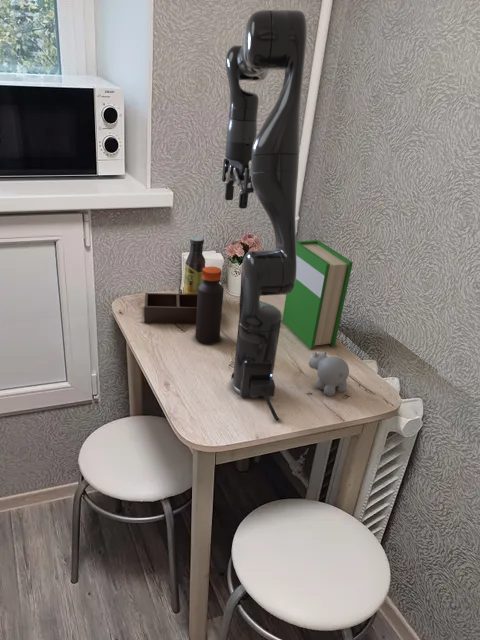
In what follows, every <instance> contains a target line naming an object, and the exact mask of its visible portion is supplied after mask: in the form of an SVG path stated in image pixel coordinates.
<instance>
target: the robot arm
mask: <svg viewBox="0 0 480 640" xmlns="http://www.w3.org/2000/svg"><path fill="white" fill-rule="evenodd" d="M307 36H308V24H307V17H306V15H305V13H304V12H303V11H301V10H299V9H298V10H297V9H262V10H257V11H255V12H253V13H252V14H251V15H250V16H249V18H248V19H247V22H246V24H245V27H244V33H243V38H242V45H232V46H231V47H230V48H229V49H228V51H227V53H226V55H225V71H226V76H227V80H228V89H229V115H228V123H227V127H226V128H227V129H226V142H225V143H226V144H225V158H224V159H223V162H222V163H223V164H222V165H223V166H222V174H221V182H223V183H224V186H225V192H224V200H226V201H233V200H234V192H235V186H234V185H236V186H238V189H239V197H238V198H239V199H238V208H239V209H247V208H248V203H249V194H253V193H254V194H255V196H256V197H257V199H258V201H259V203H260V205H261V206H262V208H263V210H264V211H265V213H266V215H267V217H268V219H269V222H270V223H271V226H272V229H273V234H274V241H275V249H269V250H268V249H267V250H249V251H248V252H246V253H245V255H244V256H243V258H242V263H241V271H240V272H241V273H240V291H239V292H240V294H239V317H238V325H237V326H238V327H237V334H236V335H237V336H236V344H235V355H234V364H233V372H232V374H231V378H230V380H232V381H231V382H232V383H231V388H232V390H233V391H234V392H235V393H237V394H238V395H240V398H245V399H246V398H248V399H249V398H250V399H253V398H254V399H264V400H265V402H266V404H267V406H268V408H269V410H270V412H271V415H272V416H273V418H274V420H275V421H276V422H278V421H279V420H280V418H279V416H278V415H277V413H276V411H275V408H274V406H273V405H272V403H271V401H270V399H269V397H274V396H275V390H276V383H275V380H274V379H273V377H274V370H275V364H276V358H277V350H278V344H279V337H280V331H281V325H282V319H283V314H282V312H281V310H280V309H279V308H277V307H276V306H275V305H273V304H271V303H267V302H265V301H261V300H260V299H261V297H264V296H265V297H266V296H282V295H286V294H288V293H290V292H291V291H292V290H293V288H294V285H295V280H296V269H297V262H296V242H297V235H296V233H297V232H296V229H297V228H296V217H297V216H296V212H297V192H298V181H299V179H298V178H299V166H300V164H299V163H300V162H299V161H300V126H301V123H300V122H301V121H300V120H301V116H300V115H301V102H302V90H303V83H304V82H303V80H304V73H305V72H304V70H305V61H306V54H307V53H306V52H307V51H306V50H307V39H308V38H307ZM270 71H284V78H283V83H282V87H281V90H280V92H279V95H278V97H277V99H276V101H275V104H274V106H273V108H272V109H271V111H270V113H269V115H268V117H267V118H266V120H265V121H264V122H263V124H262V126H261V128H260V129H259V131H258V114H259V112H258V111H259V102H260V101H259V99H260V98H259V95H258V94H256V93H255V92H252V91H248V90H246V89H243V88H242V86H241V84H240V81H247V82H261V81H263V80H265V79H266V78H267V77H268V74H269V72H270ZM257 132H258V133H257ZM250 163H251V164H250ZM235 183H236V184H235Z"/></svg>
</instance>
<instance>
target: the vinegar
mask: <svg viewBox="0 0 480 640" xmlns="http://www.w3.org/2000/svg"><path fill="white" fill-rule="evenodd" d="M222 272H223V269H221V268H220V267H217V266H212V265H210V266H205V268H203V270H202V280H203V282H202V283H201V284H200V285H199V286H198V296H197V315H196V324H195V334H194V335H195V337H194V338H195V340H196V341H197V342H198V343H201V344H204V345H214V344H216V343H218V342H219V341H220V339H221V327H222V315H223V303H224V291H225V289H224V287H223V286H222V284H221V283H220V282H221V280H222Z"/></svg>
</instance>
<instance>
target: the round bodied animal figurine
mask: <svg viewBox="0 0 480 640" xmlns="http://www.w3.org/2000/svg"><path fill="white" fill-rule="evenodd" d="M327 354H328V353H327V350H326V349H325V350H324V351H323V352H322V353H318V352H312V353H311V356H310V359H309V360H308V366H309V368H311V369H314V370H315V371H317V372H316V373H317V376H318V379H317V381H316V383H315V387H316V388H317V389H318V390H321V391H322V390H323V394H324V395H326V396H327V397H328V396H329V397H331V396H334V395H335V393H336V391H337V392H338V393H344V392H346V391H347V389H348V382H347V380H348V377H349V374H350V368H349V364H348V363H347V362H346V361H345V359H344V358H342V357H339V356H336V355H331V356H330V355H329V356H328V355H327Z"/></svg>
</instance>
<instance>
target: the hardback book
mask: <svg viewBox="0 0 480 640" xmlns="http://www.w3.org/2000/svg"><path fill="white" fill-rule="evenodd" d="M296 262H297V269H296V280H295V285H294V288H293V290H292V291H291V292H290V293H288V294H285V300H284V306H283V313H282V319H281V322H283V323H284V324H285V326H287V327H288V329H290V331H292V332H293V334H294V335H296V336H297V337H298V338H299V340H301V341H302V342H303V343H304V344H305V345H306V346H307V347H308V348H309V349H310V350H314V349H315V346H322V345H329V346H330V347H335V346H336V341H337V337H338V333H339V327H340V323H341V319H342V314H343V309H344V304H345V301H346V296H347V291H348V287H349V282H350V277H351V273H352V270H353V269H352V267H353V263H354V262H353V261H351V260H350V259H349V258H347V257H346V256H344V255H342V254H340V253H339V252H338V251H337V250H335V249H333V248H331V247H330V246H328V245H327V244H325V243H324V242H322V241H321V240H319V239H314V240H300V241H297V240H296Z"/></svg>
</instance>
